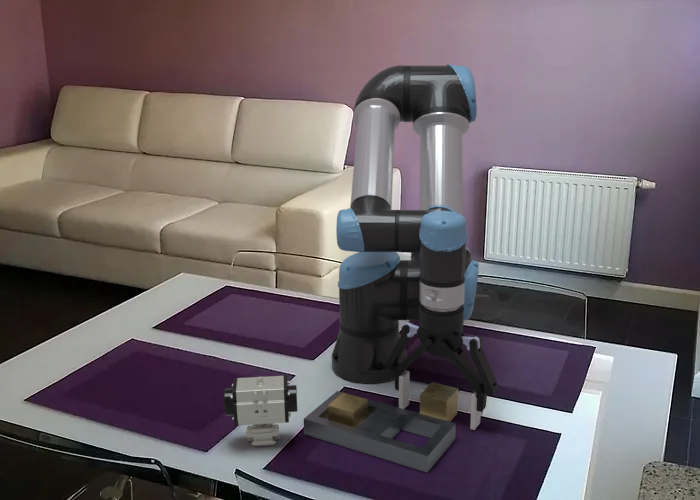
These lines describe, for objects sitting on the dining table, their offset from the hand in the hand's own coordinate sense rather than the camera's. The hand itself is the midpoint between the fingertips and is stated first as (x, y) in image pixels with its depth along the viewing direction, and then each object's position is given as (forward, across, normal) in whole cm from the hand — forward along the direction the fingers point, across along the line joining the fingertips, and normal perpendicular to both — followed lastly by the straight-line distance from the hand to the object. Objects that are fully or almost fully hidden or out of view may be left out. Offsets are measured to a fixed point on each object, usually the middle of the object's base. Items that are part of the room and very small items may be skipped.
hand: (438, 416), depth 138 cm
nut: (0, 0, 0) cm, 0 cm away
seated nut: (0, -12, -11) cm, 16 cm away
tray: (0, -6, -11) cm, 12 cm away
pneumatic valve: (0, -22, -22) cm, 31 cm away
